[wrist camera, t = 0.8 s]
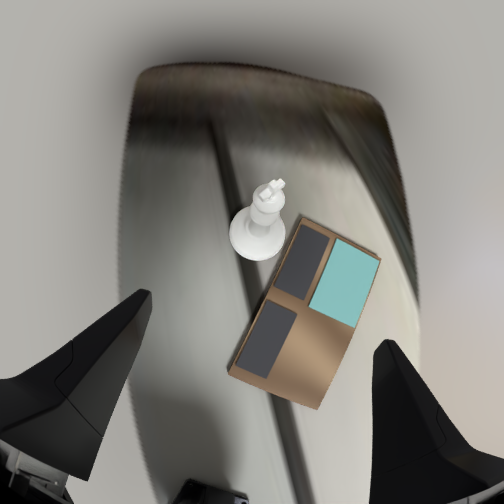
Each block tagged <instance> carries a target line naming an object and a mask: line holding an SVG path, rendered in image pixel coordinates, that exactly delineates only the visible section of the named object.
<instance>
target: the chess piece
mask: <svg viewBox="0 0 504 504" xmlns="http://www.w3.org/2000/svg"><path fill="white" fill-rule="evenodd" d="M284 186H285V182H284V181H283V180H282V179H281V178H280V179H279V180H277V181H275V180H273V181H271V182H270V183H268V184H263V185H260V186H259V187H257V188H256V190H255V191H254V194H253V202H252V204H251V205H250V206H248V207H246V208H244V209H242V210H241V211H239V212H238V213H237V214H236V215H235V217H234V218H233V220H232V222H231V225H230V229H229V237H230V241H231V244H232V246H233V247H234V249H235V250H236V251H237V252H238V253H239V254H240V255H241V256H243V257H245V258H247V259H250V260H255V261H261V260H266V259H269V258H271V257H273V256H274V255H275V254H277V253H278V252H279V250H280V249H281V248H282V246H283V243H284V240H285V226H284V223H283V221H282V219H281V217H280V216H279V215H280V210H281V209H282V207H283V206H284V203H285V195H284V193H283V191H282V190H281V189H282V188H283V187H284Z"/></svg>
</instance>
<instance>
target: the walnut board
mask: <svg viewBox="0 0 504 504" xmlns="http://www.w3.org/2000/svg"><path fill="white" fill-rule="evenodd" d="M302 224H303V225H305V226H307V227H309V228H311V229H313V230H315V231H317V232H319V233H321V234H323V235H325V236H327V237H329V238H330V240H329V242H328V245H327V247H326V250H325V252H324V255H323V257H322V260H321V262H320V264H319V267H318V269H317V271H316V274H315V276H314V279H313V281H312V283H311V285H310V288H309V290H308V292H307V295H306V297H305V299H304V300H301V299H299V298H297V297H295V296H293V295H291V294H289V293H286V292H284V291H282V290H280V289H278V288H276V287H274V284H275V282H276V280H277V278H278V276H279V274H280V272H281V269H282V267H283V265H284V263H285V261H286V259H287V256H288V254H289V252H290V250H291V248H292V245H293V243H294V241H295V239H296V237H297V234H298V232H299V230H300V228H301V225H302ZM336 239H339V240H341V241H343V242H345V243H347V244H349V245H351V246H352V247H354V248H356V249H358V250H360V251H362V252H364V253H366V254H367V255H369V256H371V257H373V258H375V259H377V260H378V261H379V264H378V267H377V270H376V273H377V271H378V268H379V265H380V262H381V258H379V257H378V256H376V255H374V254H372V253H370V252H368V251H367V250H365V249H363V248H361V247H359V246H357V245H355V244H354V243H352V242H350V241H348V240H346V239H344V238H342V237H340V236H338V235H337V234H335V233H333V232H331V231H329V230H327V229H325V228H323V227H321V226H319V225H317V224H315V223H313V222H311V221H309V220H307V219H305V218H303V217H302V219H301V221H300V223H299V225H298V227H297V230H296V232H295V234H294V236H293V238H292V241H291V243H290V245H289V247H288V249H287V252H286V254H285V256H284V258H283V260H282V262H281V265H280V267H279V269H278V271H277V273H276V275H275V277H274V280H273V282H272V284H271V286H270V288H269V290H268V292H267V294H266V296H265V299H264V301H263V303H262V305H261V307H260V309H259V311H258V313H257V315H256V317H255V319H254V321H253V323H252V325H251V328H250V330H249V332H248V334H247V336H246V338H245V340H244V342H243V344H242V346H241V348H240V350H239V352H238V354H237V356H236V358H235V360H234V362H233V364H232V366H231V368H230V370H229V372H228V375H230V376H232V377H235V378H237V379H239V380H241V381H244V382H246V383H248V384H251V385H253V386H255V387H258V388H260V389H262V390H265V391H267V392H270V393H272V394H275V395H277V396H280V397H283V398H285V399H288V400H291V401H293V402H296V403H299V404H301V405H304V406H307V407H310V408H313V409H316V410H317V409H318V407H319V405H320V404H321V402H322V400H323V398H324V396H325V394H326V392H327V390H328V388H329V386H330V384H331V382H332V380H333V378H334V376H335V374H336V372H337V370H338V367H339V365H340V363H341V361H342V359H343V357H344V354H345V352H346V350H347V348H348V345H349V343H350V341H351V338H352V336H353V334H354V331H355V329H356V327H357V324H358V322H359V319H360V317H361V314H362V312H363V309H364V306H365V304H366V301H367V299H368V296H369V293H370V290H371V288H372V285H373V282H374V279H375V276H376V273H375V276H374V279H373V282H372V285H371V287H370V290H369V293H368V295H367V298H366V301H365V303H364V306H363V309H362V311H361V314H360V316H359V319H358V321H357V324H356V326H355V328H353V327H351V326H349V325H347V324H344V323H342V322H340V321H338V320H336V319H333V318H331V317H329V316H327V315H325V314H323V313H321V312H318V311H316V310H314V309H312V308H310V307H308V306H309V303H310V301H311V299H312V297H313V294H314V292H315V290H316V287H317V285H318V283H319V280H320V278H321V276H322V273H323V271H324V268H325V266H326V264H327V261H328V259H329V256H330V254H331V251H332V249H333V246H334V244H335V241H336ZM267 300H268V301H270V302H272V303H274V304H276V305H278V306H280V307H282V308H285V309H287V310H289V311H291V312H293V313H295V314H297V317H296V319H295V321H294V323H293V325H292V328H291V330H290V332H289V334H288V336H287V338H286V340H285V342H284V344H283V346H282V348H281V351H280V353H279V355H278V357H277V359H276V361H275V363H274V365H273V367H272V369H271V371H270V373H269V375H268V377H267V379H265V378H262V377H260V376H258V375H255V374H253V373H251V372H249V371H246V370H244V369H242V368H240V367H237V366H235V365H236V363H237V361H238V359H239V357H240V355H241V353H242V351H243V349H244V347H245V345H246V343H247V341H248V339H249V337H250V334H251V332H252V330H253V328H254V326H255V324H256V322H257V320H258V318H259V316H260V314H261V312H262V310H263V308H264V306H265V303H266V301H267Z"/></svg>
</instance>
